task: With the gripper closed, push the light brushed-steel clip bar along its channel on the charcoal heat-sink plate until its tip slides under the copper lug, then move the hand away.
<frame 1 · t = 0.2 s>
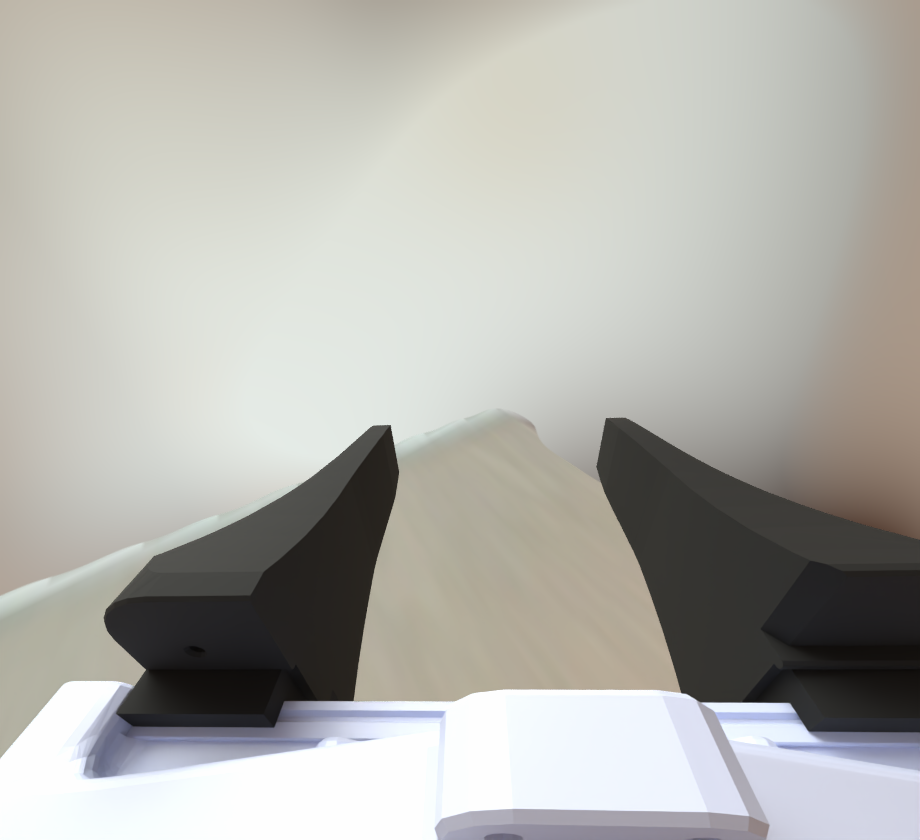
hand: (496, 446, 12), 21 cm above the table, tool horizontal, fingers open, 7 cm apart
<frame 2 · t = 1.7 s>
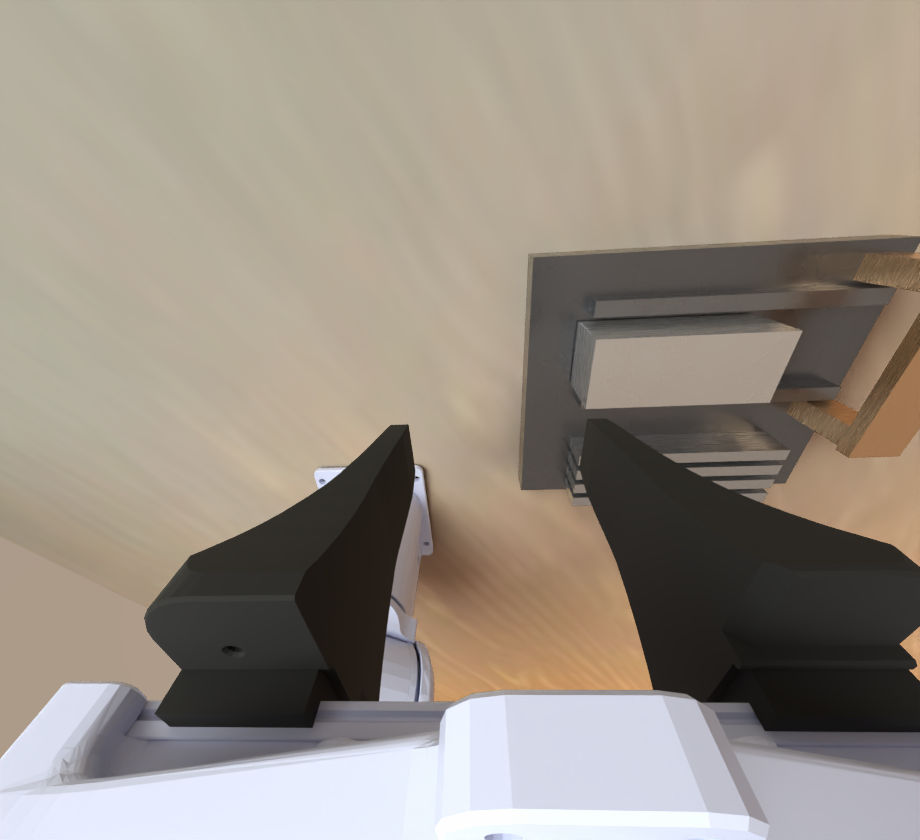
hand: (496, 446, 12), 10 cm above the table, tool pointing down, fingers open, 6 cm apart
clip bar: (670, 360, 18), point 3 cm above the table, slide at 0.0 cm
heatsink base: (667, 378, 22), on the table
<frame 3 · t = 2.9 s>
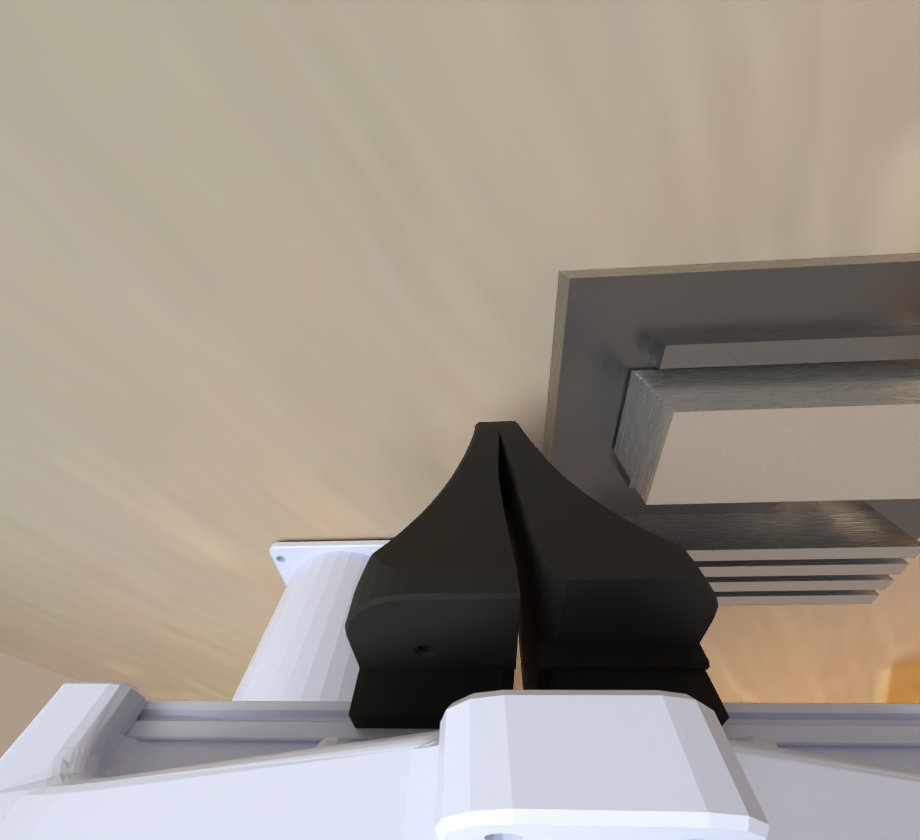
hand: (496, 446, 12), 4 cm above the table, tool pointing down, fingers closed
clip bar: (772, 431, 12), point 3 cm above the table, slide at 0.0 cm
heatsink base: (743, 438, 16), on the table
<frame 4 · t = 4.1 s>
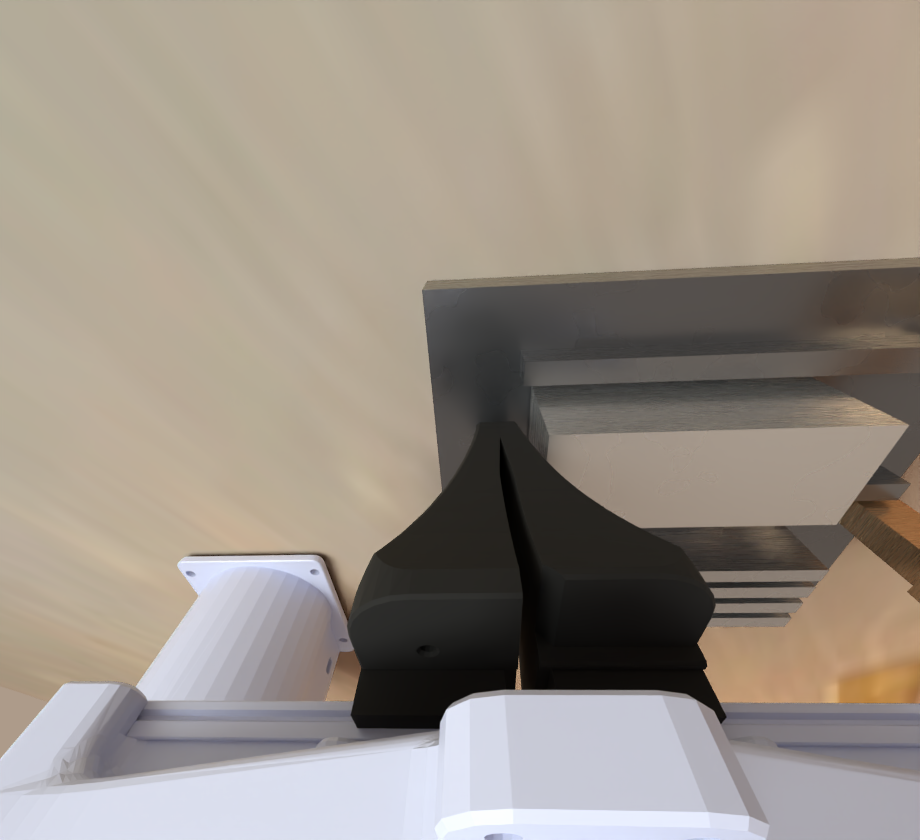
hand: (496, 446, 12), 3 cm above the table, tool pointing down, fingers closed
clip bar: (676, 451, 11), point 3 cm above the table, slide at 0.9 cm, touching gripper
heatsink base: (649, 454, 15), on the table
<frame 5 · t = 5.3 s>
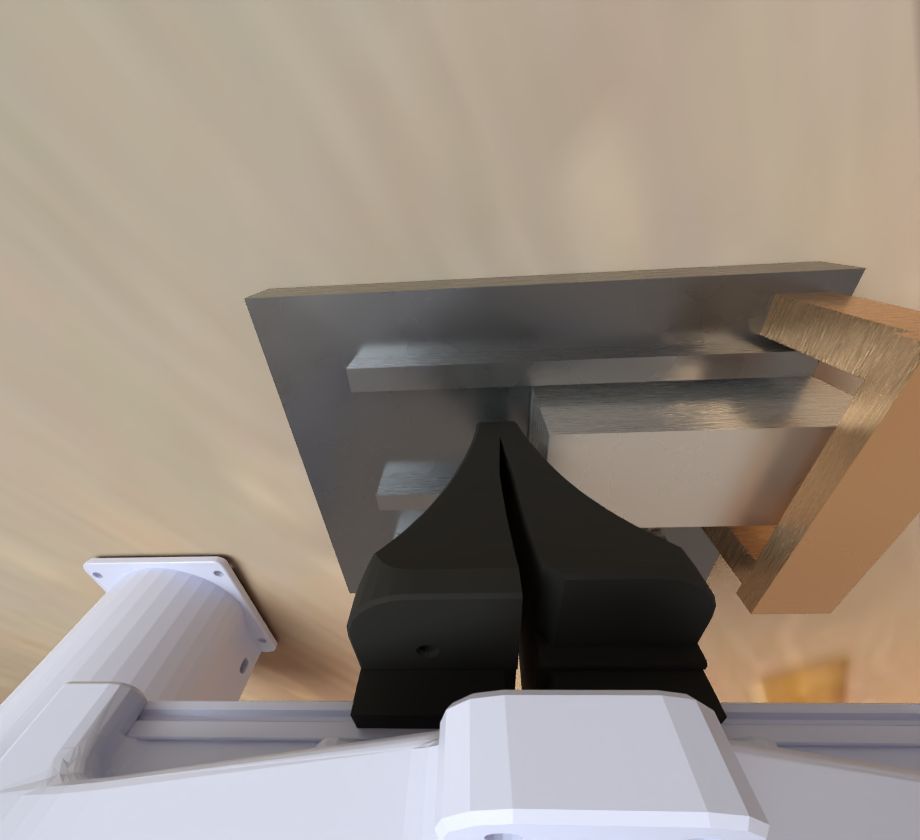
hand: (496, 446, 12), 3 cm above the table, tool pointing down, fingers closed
clip bar: (677, 451, 11), point 3 cm above the table, slide at 6.3 cm, touching gripper
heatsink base: (524, 457, 15), on the table
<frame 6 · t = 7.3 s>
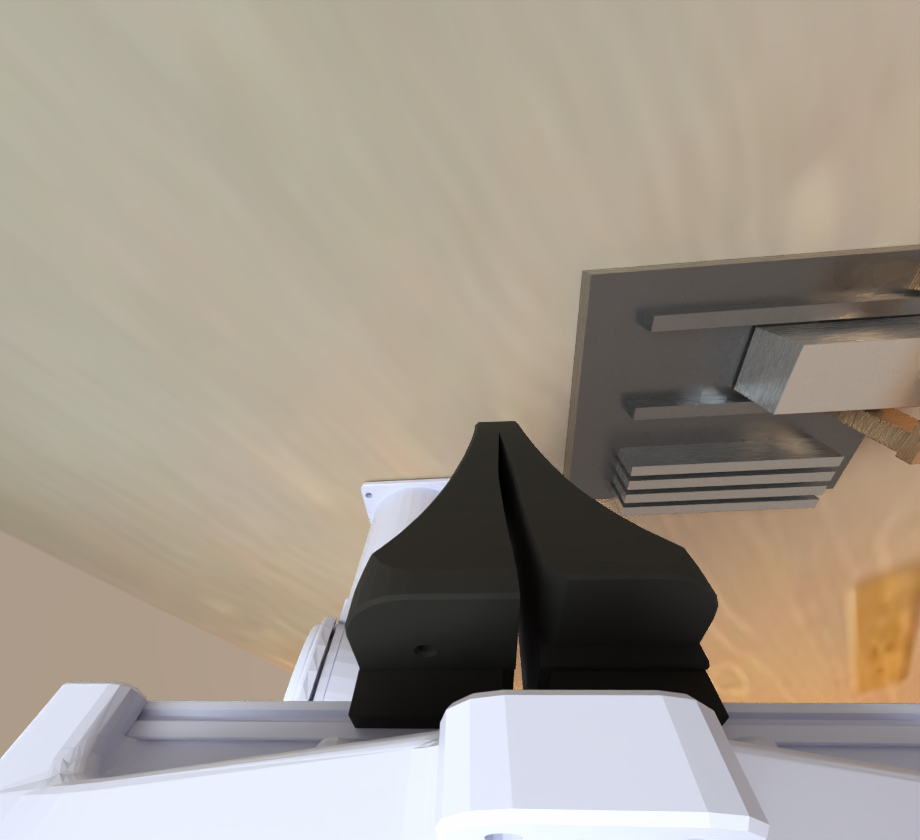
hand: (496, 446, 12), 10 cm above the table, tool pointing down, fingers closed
clip bar: (856, 364, 18), point 3 cm above the table, slide at 6.3 cm
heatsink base: (715, 387, 22), on the table
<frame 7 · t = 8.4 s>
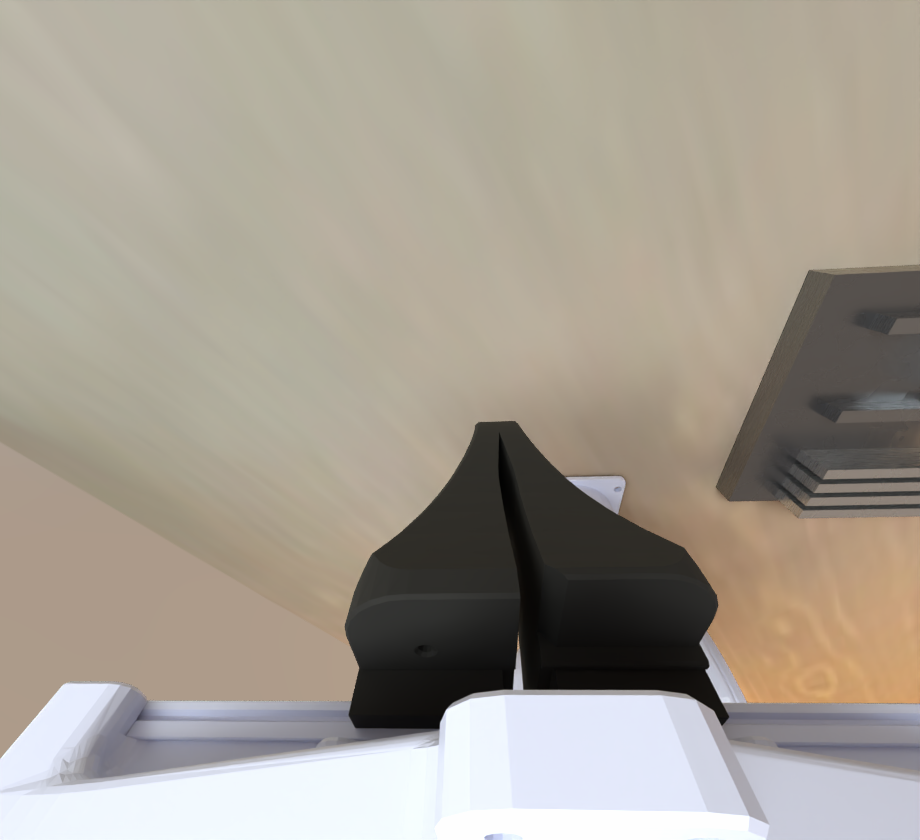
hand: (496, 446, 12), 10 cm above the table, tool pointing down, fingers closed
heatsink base: (904, 392, 22), on the table
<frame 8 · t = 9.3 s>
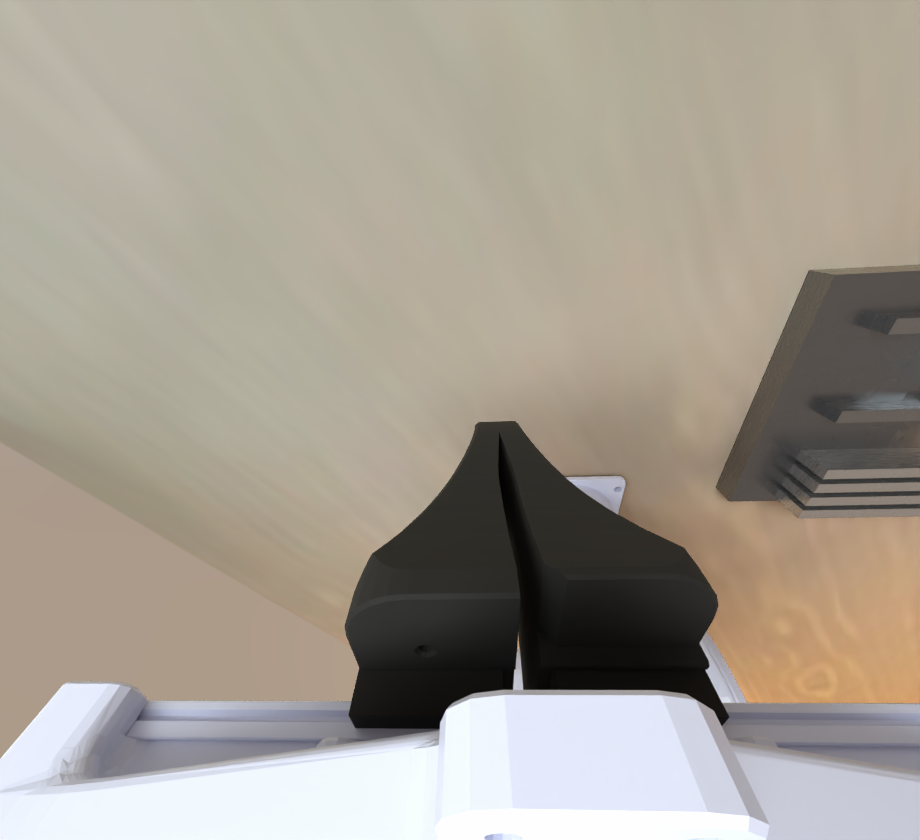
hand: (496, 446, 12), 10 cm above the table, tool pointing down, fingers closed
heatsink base: (904, 392, 22), on the table
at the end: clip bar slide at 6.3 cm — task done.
